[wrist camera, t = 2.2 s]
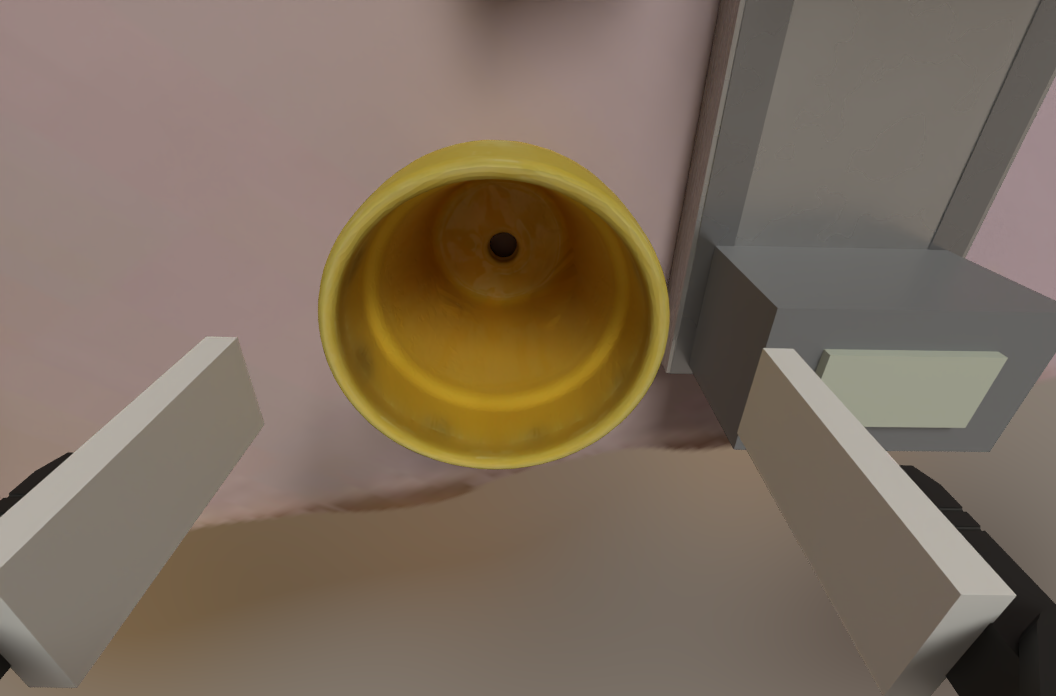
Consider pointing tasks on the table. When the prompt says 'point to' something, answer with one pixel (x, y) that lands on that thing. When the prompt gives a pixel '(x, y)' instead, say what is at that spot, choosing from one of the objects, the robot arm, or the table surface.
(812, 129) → the rail
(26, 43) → the table surface
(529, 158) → the plant pot
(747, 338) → the module
